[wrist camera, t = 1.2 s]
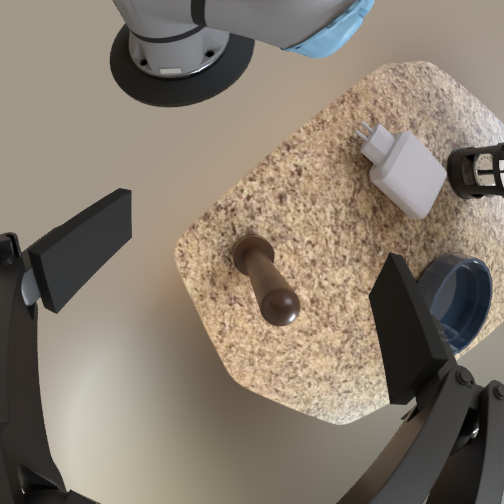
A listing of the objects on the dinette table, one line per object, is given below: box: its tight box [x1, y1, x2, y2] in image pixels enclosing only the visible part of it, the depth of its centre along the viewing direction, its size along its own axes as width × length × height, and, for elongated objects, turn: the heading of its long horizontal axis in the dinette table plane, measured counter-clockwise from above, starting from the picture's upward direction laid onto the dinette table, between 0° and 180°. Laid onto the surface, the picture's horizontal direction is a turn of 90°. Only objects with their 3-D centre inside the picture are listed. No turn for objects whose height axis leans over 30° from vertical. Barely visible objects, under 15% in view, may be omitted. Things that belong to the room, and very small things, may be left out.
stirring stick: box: [233, 234, 300, 326], centre depth 27 cm, size 5×5×21 cm
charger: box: [355, 121, 447, 219], centre depth 35 cm, size 5×9×15 cm
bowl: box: [417, 252, 492, 355], centre depth 40 cm, size 17×17×6 cm
